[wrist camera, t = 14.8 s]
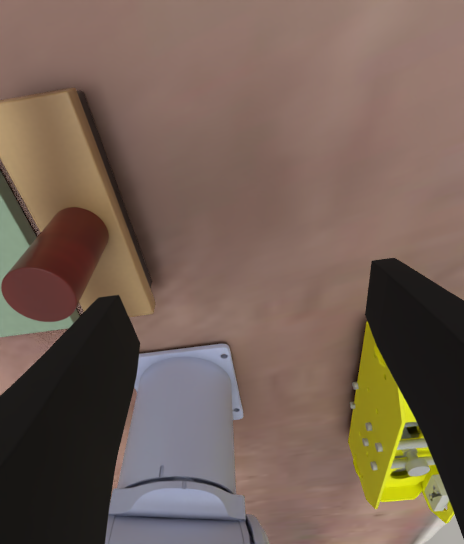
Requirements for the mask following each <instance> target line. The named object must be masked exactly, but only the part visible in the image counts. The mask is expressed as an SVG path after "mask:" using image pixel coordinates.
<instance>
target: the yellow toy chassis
mask: <svg viewBox="0 0 464 544" xmlns="http://www.w3.org/2000/svg"><path fill="white" fill-rule="evenodd" d="M352 385H353V389H354V390H355V389H356V393H355V400H354V402H350V408H351V409H353V413H352V419H351V426H350V432H349V439H348V443H349V446H350V450H351V453H352V456H353V459H354V460H353V464H354V467H355V470H356V473H357V474H358V476H359V478H360V481H361V485H362V488H363V491H364V494H365V497H366V500H367V501H368V502H369V503H370V504H371V505H372V506H373V507H374V508H375V509H378V506H379V503H380V501H381V502H390V501H401V500H412V499H415V498H416V497H417V496H418V495H419V494H420V493H421V492H422V493H423V495H424V498H425V500H426V502H427V504H428V507H429V509H430V510H431V511H432V512H433V513H434V514H435V515H437V516H438V517H439V518H440V519H441V520H442V521H444V522H445V523H448V522H449V521H450V520H451V518H452V517H453V515H454V511H453V508H452V506H451V503H450V501H449V498H448V496H447V493H446V490H445V488H444V485H443V483H442V480H441V478H440V475H439V472H438V470H437V468H436V465H435V463H434V460H433V458H432V456H431V453H430V451H429V448H428V446H427V443H426V441H425V439H424V436H423V434H422V432H421V430H420V428H419V426H418V424H417V421H416V419H415V417H414V415H413V414H412V412H411V410H410V408H409V406H408V404H407V402H406V400H405V399H404V397H403V395H402V393H401V391H400V389H399V387H398V385H397V384H396V382H395V380H394V378H393V376H392V374H391V372H390V370H389V369H388V367H387V365H386V363H385V361H384V359H383V357H382V355H381V353H380V351H379V349H378V347H377V345H376V343H375V340H374V337H373V335H372V332H371V329H370V327H369V324H368V321H367V322H366V328H365V335H364V341H363V348H362V354H361V361H360V367H359V374H358V380H357V382H353V383H352ZM446 505H447V506H448V508H447V510H446V509H445V507H446Z"/></svg>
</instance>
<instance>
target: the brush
mask: <svg viewBox="0 0 464 544" xmlns="http://www.w3.org/2000/svg"><path fill="white" fill-rule="evenodd" d="M0 159H1V161H2V162H3V164H4V166H5V168H6V170H7V172H8V173H9V175H10V177H11V179H12V181H13V183H14V184H15V186H16V188H17V190H18V192H19V194H20V195H21V197H22V199H23V201H24V203H25V204H26V206H27V208H28V210H29V212H30V214H31V215H32V217H33V219H34V221H35V223H36V225H37V226H38V228H39V230H40V232H41V233H40V234H39V235H38V237H37V238H36V239H35V240H34V242H33V243H32V244H31V245H30V246H29V248H28V249H27V250H26V251H25V252H24V254H23V255H22V256H21V257H20V258H19V260H18V261H17V262H16V263H15V265H14V266H13V267H12V268H11V269H10V271H9V272H8V273H7V274H6V275H5V277H4V278H3V280H2V284H1V291H2V295H3V297H4V299H5V300H6V302H7V303H8V304H9V305H10V306H11V307H12V308H13V309H14V310H15V311H17V312H18V313H19V314H21V315H23V316H25V317H27V318H30V319H33V320H37V321H42V322H56V321H61V320H64V319H66V318H68V317H69V316H70V315H72V314H73V312H74V311H75V309H76V307H77V305H78V303H80V305H81V307H82V309H83V311H84V312H85V311H86V309H87V308H88V307H89V306H90V305H91V304H92V303H93V302H94V301H95V300H96V299H98V298H99V297H106V296H113V295H119V296H120V298H121V300H122V303H123V305H124V307H125V310H126V312H127V314H128V316H129V317H135V316H142V315H149V314H153V313H154V308H155V304H156V303H155V300H154V297H153V295H152V292H151V289H150V288H151V284H152V280H151V277H150V274H149V272H148V269H147V266H146V263H145V261H144V258H143V255H142V252H141V250H140V247H139V244H138V241H137V239H136V236H135V233H134V230H133V228H132V225H131V222H130V219H129V217H128V214H127V211H126V208H125V206H124V203H123V200H122V197H121V195H120V192H119V189H118V186H117V184H116V181H115V178H114V175H113V173H112V170H111V167H110V164H109V162H108V159H107V156H106V153H105V151H104V148H103V145H102V142H101V140H100V137H99V134H98V131H97V129H96V126H95V123H94V120H93V117H92V115H91V112H90V109H89V106H88V104H87V101H86V98H85V95H84V93H83V91H81V90H79V91H76V89H75V88H67V89H61V90H56V91H50V92H45V93H39V94H33V95H28V96H22V97H17V98H11V99H6V100H0Z"/></svg>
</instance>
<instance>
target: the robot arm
mask: <svg viewBox="0 0 464 544" xmlns="http://www.w3.org/2000/svg"><path fill="white" fill-rule="evenodd" d="M365 315H366V318H367V321H368V324H369V327H370V329H371V332H372V335H373V337H374V340H375V343H376V345H377V347H378V349H379V351H380V353H381V355H382V357H383V359H384V361H385V363H386V365H387V367H388V369H389V370H390V372H391V374H392V376H393V378H394V380H395V382H396V384H397V385H398V387H399V389H400V391H401V393H402V395H403V397H404V399H405V400H406V402H407V404H408V406H409V408H410V410H411V412H412V414H413V415H414V417H415V419H416V421H417V424H418V426H419V428H420V430H421V432H422V434H423V436H424V439H425V441H426V443H427V446H428V448H429V451H430V453H431V456H432V458H433V460H434V463H435V465H436V468H437V470H438V472H439V475H440V478H441V480H442V483H443V485H444V488H445V490H446V493H447V496H448V498H449V501H450V503H451V506H452V508H453V511H454V514H455V516H456V519H457V522H458V524H459V527H460V530H461V533H462V536H463V538H464V300H462V299H460V298H459V297H457V296H455V295H454V294H452V293H450V292H449V291H447V290H445V289H444V288H442V287H441V286H439V285H437V284H436V283H434V282H433V281H431V280H429V279H428V278H426V277H425V276H423V275H422V274H420V273H418V272H417V271H415V270H414V269H412V268H410V267H409V266H407V265H406V264H404V263H402V262H401V261H399V260H397V259H395V258H389V259H382V260H374V261H372V264H371V272H370V280H369V288H368V296H367V304H366V313H365ZM139 349H140V342H139V340H138V337H137V335H136V333H135V330H134V328H133V326H132V323H131V321H130V319H129V316H128V314H127V312H126V310H125V307H124V305H123V303H122V300H121V298H120V296H119V295H113V296H106V297H99V298H98V299H96V300H95V301H94V302H93V303H92V304H91V305H90V306H89V307H88V308H87V309H86V311H85V312H84V313H83V314H82V315H81V316H80V317H79V318H78V319H77V320H76V321H75V322H74V323H73V324H72V325H71V327H70V328H69V329H68V330H67V331H66V332H65V333H64V334H63V335H62V336H61V337H60V338H59V339H58V340H57V341H56V342H55V343H54V344H53V345H52V346H51V348H50V349H49V350H48V351H47V352H46V353H45V354H44V355H43V356H42V357H41V358H40V359H39V360H38V361H37V362H35V363H34V364H33V365H32V366H31V367H30V368H29V369H28V370H27V371H26V372H25V373H24V374H23V375H22V376H21V377H20V378H19V379H18V380H17V381H16V382H15V383H14V384H13V385H12V386H11V387H10V388H8V389H7V390H6V391H5V392H4V393H3V394H2V395H1V396H0V544H269V540H268V537H267V535H266V533H265V531H264V529H263V528H262V527H261V525H260V523H259V521H258V520H257V518H256V517H255V516H254V515H252V514H245V497H244V496H243V495H236V480H235V457H234V434H233V420H238V419H241V418H243V416H244V415H243V408H242V404H241V399H240V394H239V389H238V385H237V380H236V375H235V371H234V366H233V361H232V356H231V352H230V347H229V346H228V345H227V344H214V345H206V346H198V347H190V348H182V349H174V350H166V351H158V352H150V353H142V354H139ZM223 354H225V355H223ZM134 388H135V390H136V392H137V396H136V401H135V406H134V411H133V415H132V420H131V425H130V429H129V434H128V439H127V444H126V448H125V453H124V458H123V463H122V467H121V472H120V477H119V482H118V486H117V488H115V489H113V492H112V485H113V478H114V471H115V465H116V460H117V455H118V450H119V446H120V442H121V438H122V434H123V430H124V426H125V422H126V418H127V414H128V410H129V406H130V402H131V397H132V393H133V389H134ZM111 492H112V497H111ZM110 499H111V501H110Z"/></svg>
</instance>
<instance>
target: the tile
mask: <svg viewBox="0 0 464 544" xmlns="http://www.w3.org/2000/svg"><path fill="white" fill-rule="evenodd" d="M36 238H37V236H36V235H35V233H34V231H33V229H32V227H31V226H30V224H29V222H28V220H27V218H26V216H25V215H24V213H23V211H22V209H21V207H20V205H19V204H18V202H17V200H16V198H15V196H14V194H13V193H12V191H11V189H10V187H9V185H8V184H7V182H6V180H5V178H4V176H3V174H2V173H1V171H0V337H7V336H14V335H22V334H30V333H37V332H45V331H53V330H60V329H68V328H70V327H71V325H72V324H73V323H74V322H75V321H76V320H77V319H78V318H79V317H80V315H79V313H78V311H77V310H76V309H75V311H74V312H73V314H72V315H70V316H69V317H68V318H66V319H64V320H61V321H56V322H42V321H37V320H33V319H30V318H27V317H25V316H23V315H21V314H19V313H18V312H17V311H15V310H14V309H13V308H12V307H11V306H10V305H9V304H8V303H7V302H6V300H5V299H4V297H3V295H2V291H1V284H2V280H3V278H4V277H5V275H6V274H7V273H8V272H9V271H10V269H11V268H12V267H13V266H14V265H15V263H16V262H17V261H18V260H19V258H20V257H21V256H22V255H23V254H24V252H25V251H26V250H27V249H28V248H29V246H30V245H31V244H32V243H33V242H34V240H35V239H36Z"/></svg>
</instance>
